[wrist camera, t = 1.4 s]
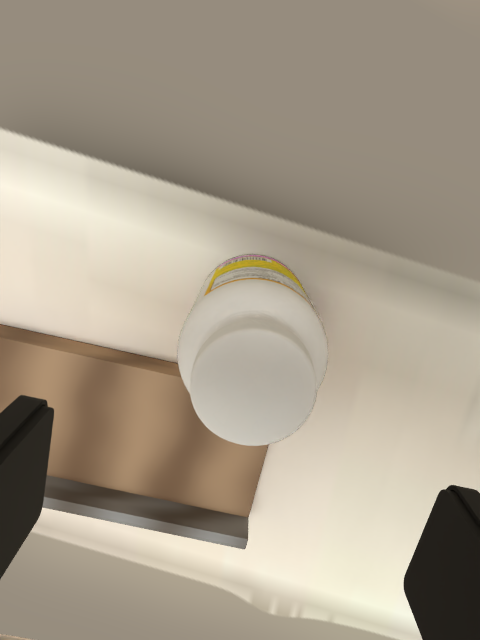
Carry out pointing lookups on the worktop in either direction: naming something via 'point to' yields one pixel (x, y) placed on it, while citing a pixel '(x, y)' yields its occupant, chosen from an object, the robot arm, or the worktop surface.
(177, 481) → the shelf
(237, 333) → the supplement bottle
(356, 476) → the worktop surface
